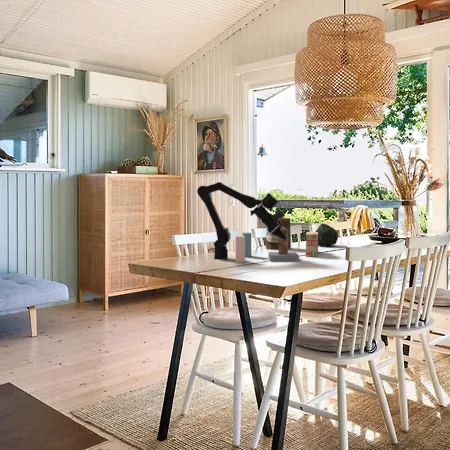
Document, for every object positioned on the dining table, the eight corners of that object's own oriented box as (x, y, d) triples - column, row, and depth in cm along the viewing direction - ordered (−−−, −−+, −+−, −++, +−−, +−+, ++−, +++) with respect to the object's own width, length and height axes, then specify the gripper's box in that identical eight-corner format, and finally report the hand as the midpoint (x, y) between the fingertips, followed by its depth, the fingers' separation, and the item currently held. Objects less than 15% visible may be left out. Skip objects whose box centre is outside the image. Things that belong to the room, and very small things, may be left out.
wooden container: (262, 249, 324) (262, 212, 323) (270, 246, 338) (270, 211, 336) (286, 250, 319) (286, 212, 317) (293, 247, 332) (293, 211, 331)
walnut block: (278, 254, 276) (278, 229, 275) (279, 253, 281) (279, 228, 280) (287, 254, 276) (287, 229, 275) (287, 253, 280) (288, 228, 279)
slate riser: (270, 261, 271) (270, 255, 271) (268, 257, 285) (268, 252, 285) (298, 261, 271) (298, 255, 271) (295, 257, 285) (295, 252, 285)
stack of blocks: (306, 252, 311) (307, 230, 310) (318, 252, 310) (318, 230, 309) (305, 257, 290) (305, 233, 289) (317, 257, 289) (317, 233, 288)
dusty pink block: (235, 262, 269) (235, 236, 268) (235, 260, 274) (235, 236, 273) (244, 262, 269) (245, 236, 268) (244, 260, 274) (244, 236, 273)
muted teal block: (242, 256, 289) (242, 233, 288) (242, 255, 294) (242, 232, 293) (251, 256, 289) (251, 233, 288) (251, 255, 294) (251, 232, 293)
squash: (345, 237, 342) (330, 218, 346) (337, 240, 329) (321, 221, 333) (329, 251, 348) (314, 232, 352) (320, 254, 336) (305, 235, 340)
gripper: (274, 205, 268) (296, 228, 267) (276, 204, 286) (298, 225, 285) (258, 221, 270) (280, 244, 269) (261, 219, 288) (282, 240, 287)
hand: (286, 237), depth 277 cm, fingers open, 9 cm apart
